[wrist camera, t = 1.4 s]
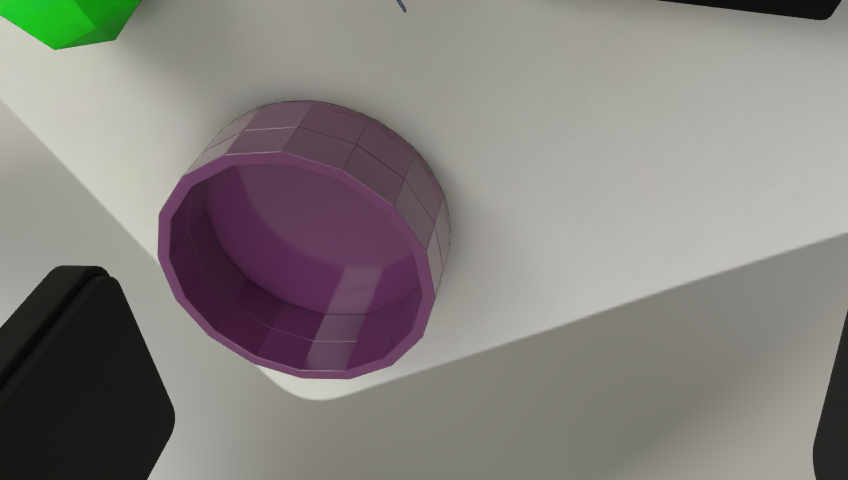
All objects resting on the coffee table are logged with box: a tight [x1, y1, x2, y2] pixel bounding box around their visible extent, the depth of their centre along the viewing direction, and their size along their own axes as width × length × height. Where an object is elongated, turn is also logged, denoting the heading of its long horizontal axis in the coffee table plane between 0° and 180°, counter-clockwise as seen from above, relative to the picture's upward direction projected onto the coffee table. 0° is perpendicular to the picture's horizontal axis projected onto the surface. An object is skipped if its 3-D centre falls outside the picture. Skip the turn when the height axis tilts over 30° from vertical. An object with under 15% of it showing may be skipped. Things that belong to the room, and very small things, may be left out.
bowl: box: [158, 101, 450, 379], centre depth 38 cm, size 13×13×5 cm
